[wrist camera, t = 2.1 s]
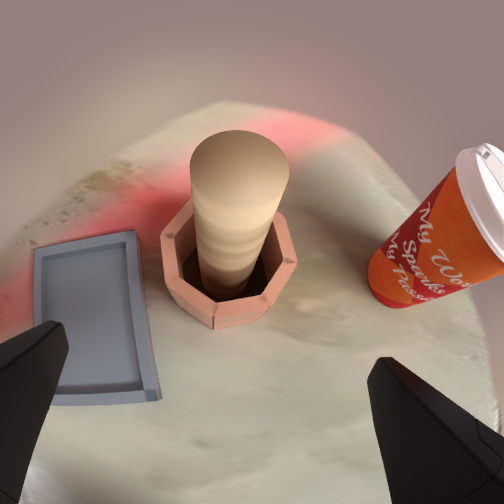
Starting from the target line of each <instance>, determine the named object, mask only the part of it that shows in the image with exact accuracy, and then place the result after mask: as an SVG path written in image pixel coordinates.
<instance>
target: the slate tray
mask: <svg viewBox="0 0 504 504" xmlns="http://www.w3.org/2000/svg"><path fill="white" fill-rule="evenodd" d="M33 314H34V327H36V326H38V325H40V324H42V323H44V322H46V321H48V320H55V321H59V322H61V323H62V324H63V325H64V328H65V332H66V336H67V339H68V343H69V352H68V355H67V358H66V361H65V364H64V367H63V370H62V373H61V376H60V379H59V383H58V386H57V389H56V392H55V395H54V397H53V400H52V402H51V405H57V406H85V405H112V404H127V403H140V402H150V401H159V400H160V399H162V394H161V389H160V384H159V379H158V374H157V369H156V364H155V358H154V353H153V347H152V341H151V335H150V328H149V321H148V314H147V307H146V299H145V290H144V281H143V271H142V260H141V247H140V238H139V236H138V234H137V232H136V230H131V231H125V232H119V233H114V234H108V235H103V236H97V237H92V238H87V239H82V240H77V241H72V242H67V243H62V244H57V245H52V246H47V247H42V248H38V249H35V256H34V276H33Z"/></svg>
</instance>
